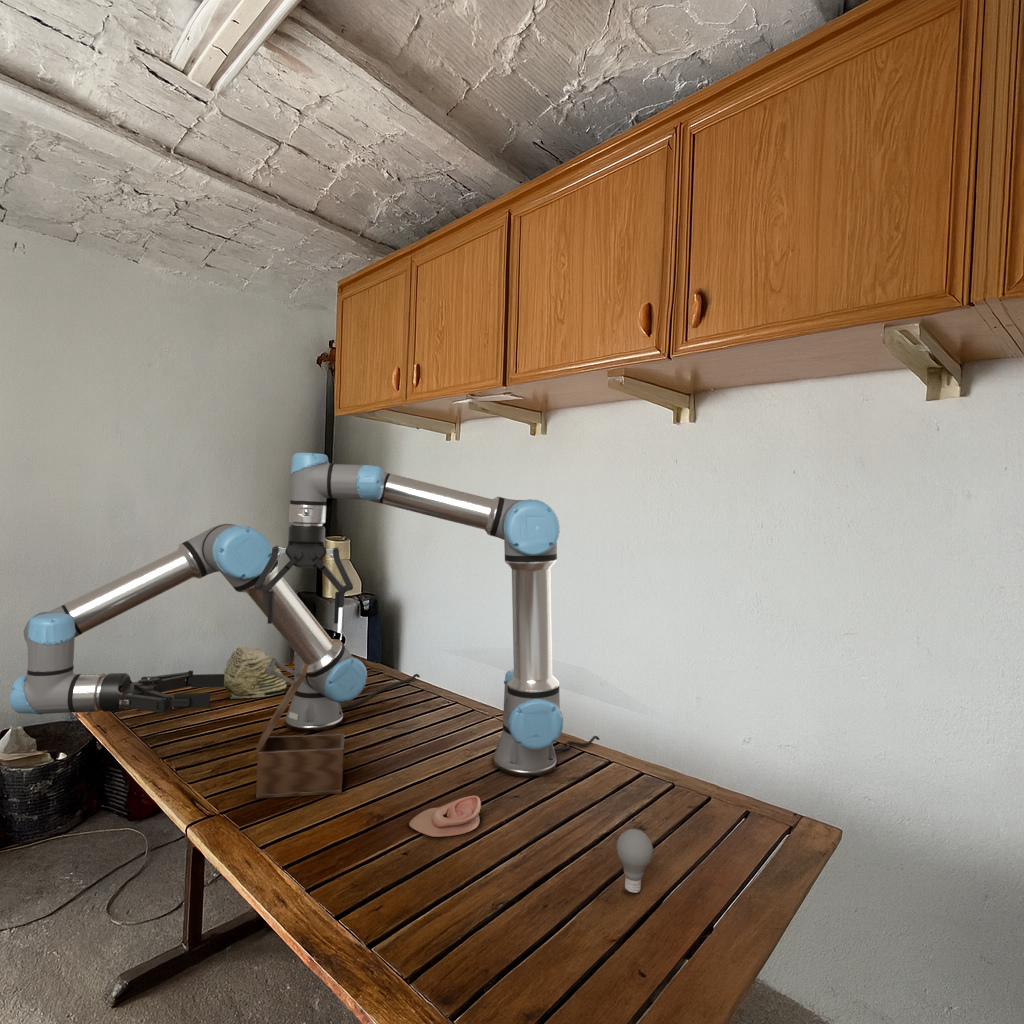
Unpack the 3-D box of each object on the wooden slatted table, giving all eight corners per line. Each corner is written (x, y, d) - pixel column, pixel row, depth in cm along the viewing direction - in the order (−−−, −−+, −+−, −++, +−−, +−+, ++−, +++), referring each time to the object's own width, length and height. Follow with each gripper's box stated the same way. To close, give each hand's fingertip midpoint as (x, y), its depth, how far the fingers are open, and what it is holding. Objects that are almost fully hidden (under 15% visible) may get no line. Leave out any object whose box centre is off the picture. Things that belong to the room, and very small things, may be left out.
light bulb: (610, 879, 108) (613, 822, 108) (644, 879, 109) (647, 822, 109) (619, 902, 102) (622, 840, 102) (655, 901, 103) (658, 840, 103)
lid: (309, 664, 142) (277, 648, 141) (305, 676, 133) (271, 658, 132) (266, 734, 141) (233, 719, 139) (260, 751, 132) (224, 734, 130)
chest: (342, 775, 145) (344, 733, 144) (341, 793, 136) (343, 748, 136) (262, 779, 141) (264, 736, 140) (255, 798, 132) (257, 752, 132)
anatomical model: (403, 811, 121) (424, 785, 132) (402, 832, 121) (423, 804, 132) (471, 821, 118) (485, 794, 129) (470, 843, 118) (485, 813, 129)
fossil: (218, 695, 195) (220, 647, 195) (278, 685, 208) (279, 640, 207) (228, 703, 189) (230, 653, 188) (289, 692, 201) (290, 645, 201)
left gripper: (126, 692, 141) (228, 689, 146) (77, 733, 117) (201, 728, 122) (127, 658, 141) (229, 657, 146) (78, 692, 117) (203, 689, 121)
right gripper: (242, 523, 130) (238, 626, 131) (366, 527, 136) (362, 625, 137) (248, 521, 138) (245, 619, 138) (366, 525, 143) (362, 619, 144)
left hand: (217, 689), depth 134 cm, fingers open, 13 cm apart
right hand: (303, 622), depth 137 cm, fingers open, 13 cm apart
